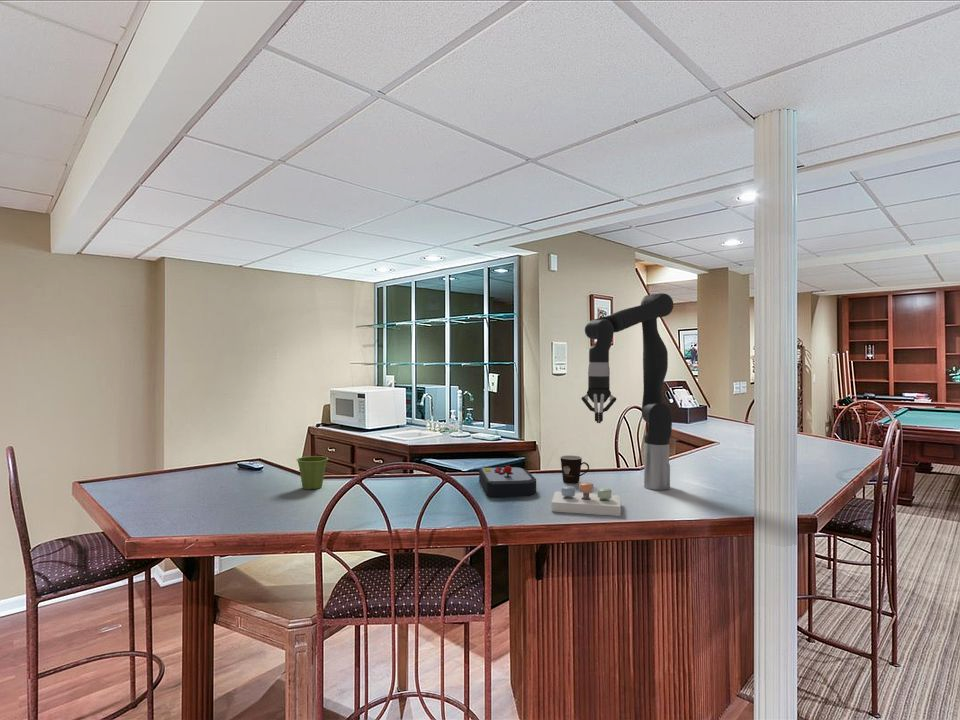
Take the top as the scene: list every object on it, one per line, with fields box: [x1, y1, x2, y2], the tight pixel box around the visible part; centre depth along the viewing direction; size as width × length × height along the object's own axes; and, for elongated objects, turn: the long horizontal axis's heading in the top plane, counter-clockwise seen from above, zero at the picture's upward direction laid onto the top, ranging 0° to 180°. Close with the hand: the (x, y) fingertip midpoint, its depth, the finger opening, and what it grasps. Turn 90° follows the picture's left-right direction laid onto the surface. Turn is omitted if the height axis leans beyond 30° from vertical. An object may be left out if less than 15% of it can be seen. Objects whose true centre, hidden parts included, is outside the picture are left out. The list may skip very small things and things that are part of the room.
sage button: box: [596, 487, 613, 501], centre depth 176 cm, size 5×5×6 cm
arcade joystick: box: [478, 465, 537, 499], centre depth 204 cm, size 28×19×10 cm
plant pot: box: [296, 455, 329, 490], centre depth 204 cm, size 12×12×11 cm
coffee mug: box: [559, 454, 590, 485], centre depth 212 cm, size 12×9×10 cm
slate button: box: [560, 485, 576, 499], centre depth 179 cm, size 5×5×6 cm
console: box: [551, 491, 622, 517], centre depth 177 cm, size 22×14×3 cm, turn 77°
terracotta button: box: [578, 482, 594, 500], centre depth 177 cm, size 5×5×6 cm
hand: (598, 422), depth 190 cm, fingers closed
